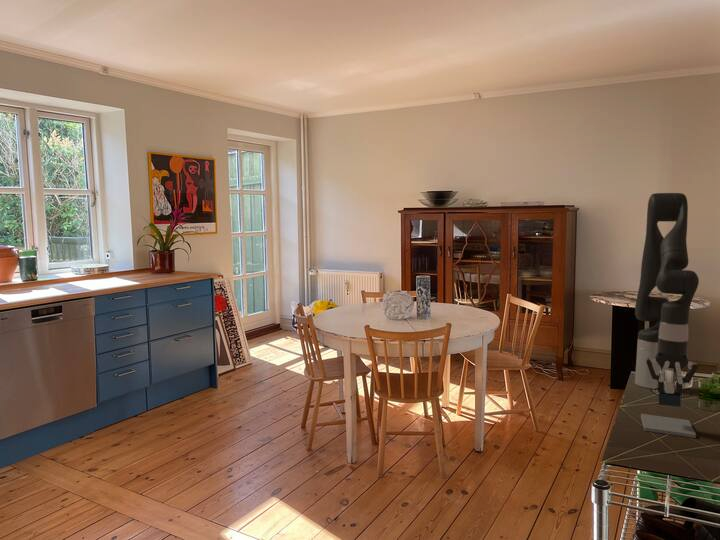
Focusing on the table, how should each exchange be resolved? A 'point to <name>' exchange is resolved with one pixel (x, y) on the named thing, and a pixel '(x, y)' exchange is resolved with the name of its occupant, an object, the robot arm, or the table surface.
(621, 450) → the table surface
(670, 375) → the watch
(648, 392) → the table surface
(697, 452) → the table surface
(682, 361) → the robot arm
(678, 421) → the mat
